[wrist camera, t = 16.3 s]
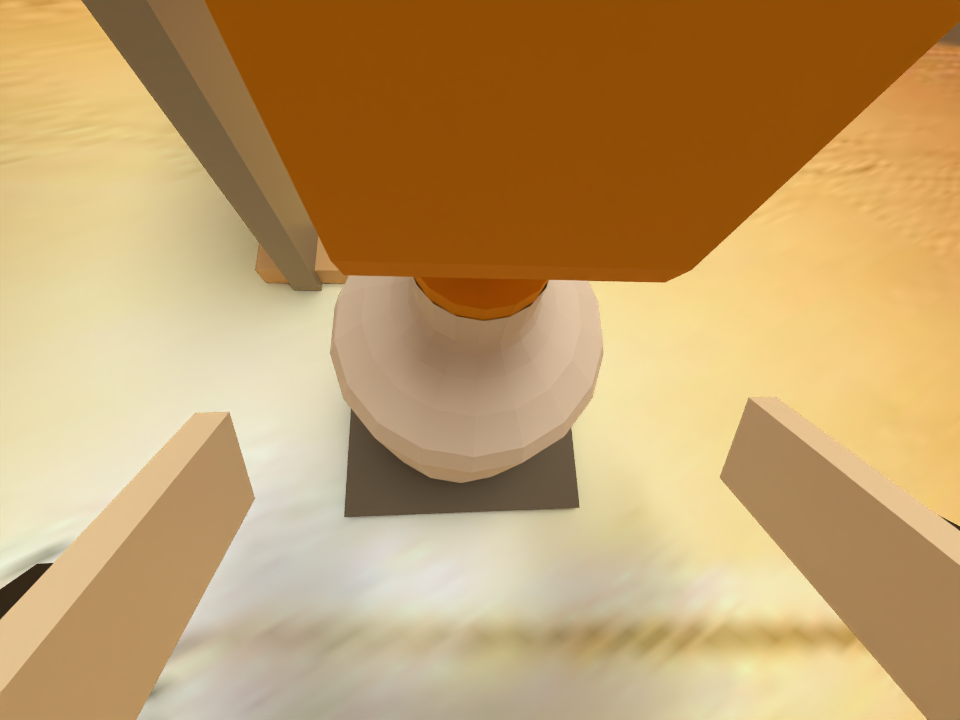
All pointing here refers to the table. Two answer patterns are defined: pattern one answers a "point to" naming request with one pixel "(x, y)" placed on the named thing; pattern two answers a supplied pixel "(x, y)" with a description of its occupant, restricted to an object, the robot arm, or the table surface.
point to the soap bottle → (536, 176)
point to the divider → (219, 128)
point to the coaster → (403, 490)
